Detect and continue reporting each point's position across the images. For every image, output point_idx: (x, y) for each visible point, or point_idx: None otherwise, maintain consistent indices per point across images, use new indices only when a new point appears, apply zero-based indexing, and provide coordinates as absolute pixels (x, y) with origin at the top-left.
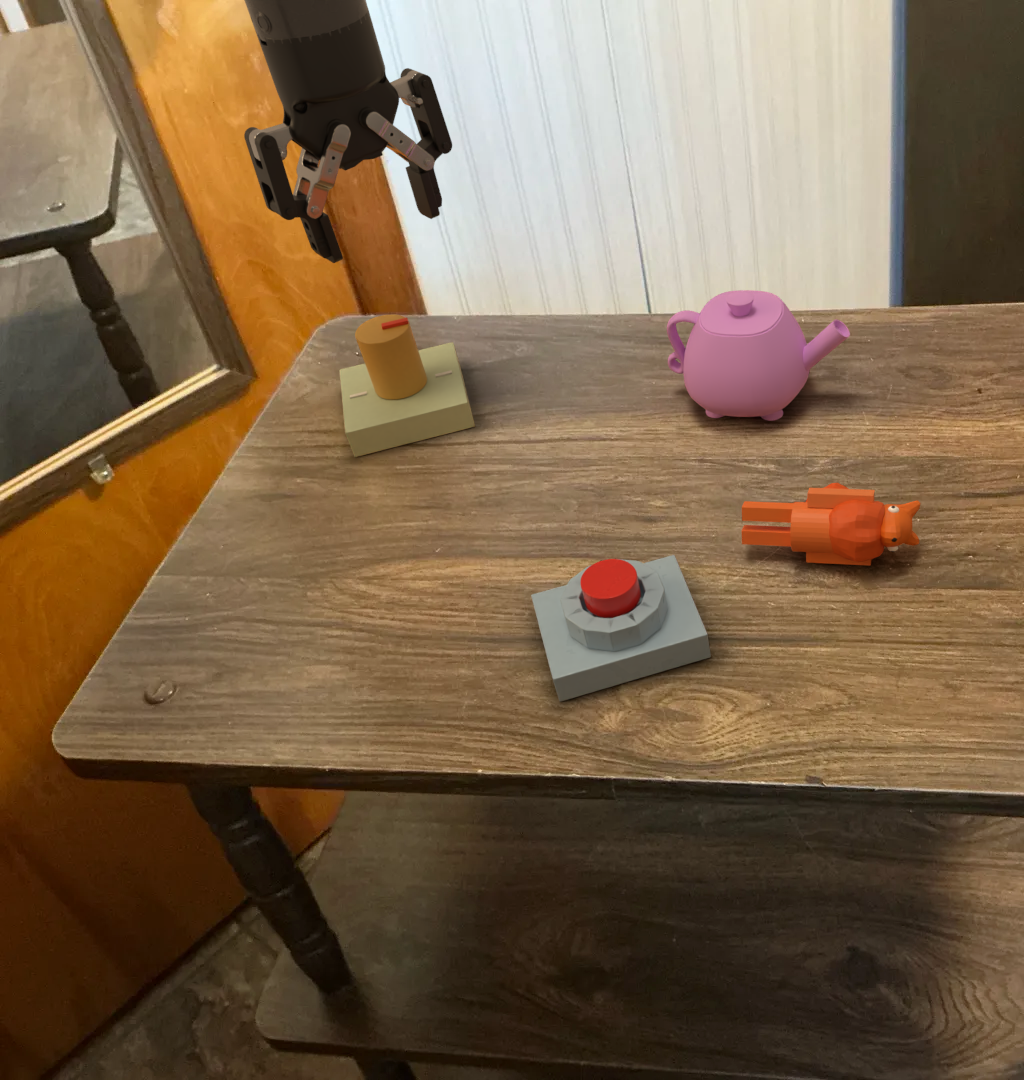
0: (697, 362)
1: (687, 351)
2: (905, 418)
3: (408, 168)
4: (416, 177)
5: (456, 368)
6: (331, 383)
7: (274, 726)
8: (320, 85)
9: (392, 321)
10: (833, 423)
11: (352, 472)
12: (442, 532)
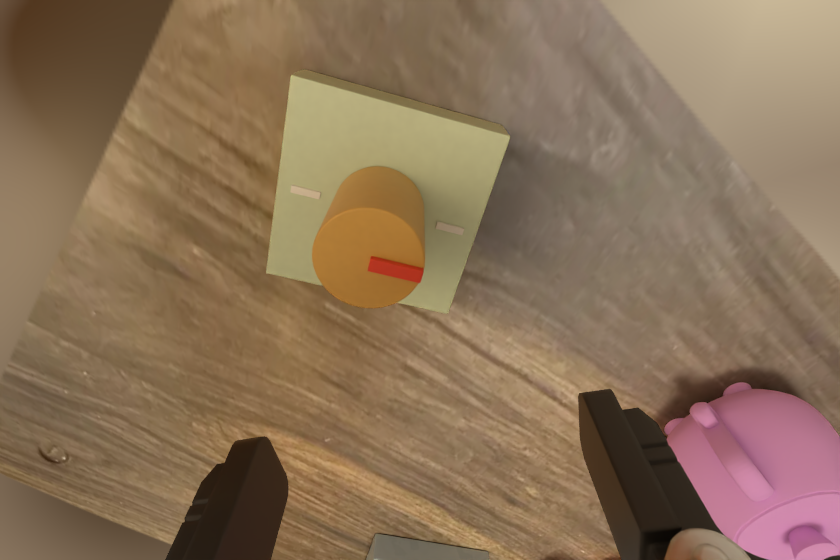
0: None
1: (708, 479)
2: None
3: (643, 542)
4: (629, 555)
5: (474, 224)
6: (280, 4)
7: (157, 519)
8: None
9: (392, 267)
10: None
11: (269, 279)
12: (339, 423)
